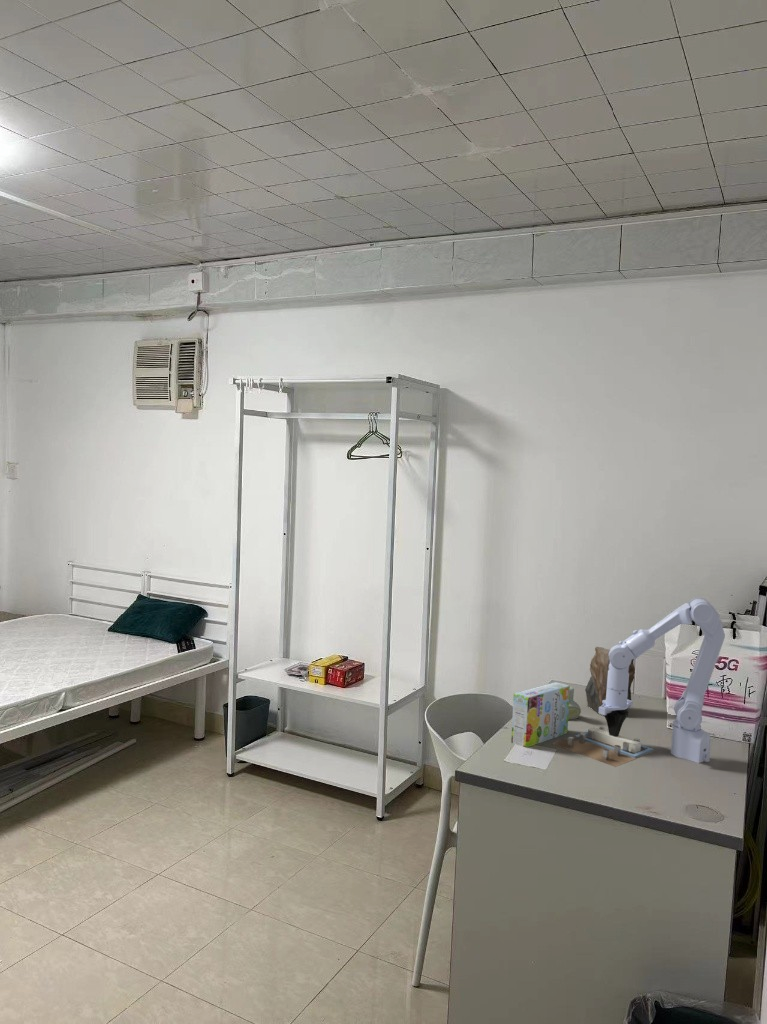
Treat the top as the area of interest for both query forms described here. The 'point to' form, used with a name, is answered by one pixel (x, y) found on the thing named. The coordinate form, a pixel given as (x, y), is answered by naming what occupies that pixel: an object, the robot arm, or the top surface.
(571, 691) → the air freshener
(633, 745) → the white rectangular bar
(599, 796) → the top surface
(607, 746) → the blue bezel
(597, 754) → the board
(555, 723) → the snack box
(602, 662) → the brown rock
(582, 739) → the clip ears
